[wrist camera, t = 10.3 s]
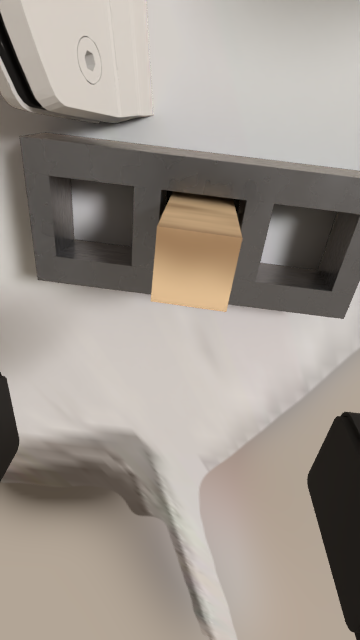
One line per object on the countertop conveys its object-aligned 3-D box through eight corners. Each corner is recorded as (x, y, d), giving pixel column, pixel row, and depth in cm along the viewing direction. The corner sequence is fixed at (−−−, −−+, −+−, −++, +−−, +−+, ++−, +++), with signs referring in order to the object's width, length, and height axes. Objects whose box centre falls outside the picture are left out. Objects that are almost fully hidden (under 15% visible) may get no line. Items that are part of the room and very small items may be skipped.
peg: (221, 251, 29) (226, 311, 20) (168, 244, 29) (150, 301, 20) (232, 196, 26) (242, 238, 18) (174, 188, 26) (157, 226, 18)
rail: (328, 295, 30) (343, 318, 27) (57, 260, 30) (37, 279, 27) (374, 172, 25) (400, 182, 21) (45, 132, 25) (19, 136, 22)
